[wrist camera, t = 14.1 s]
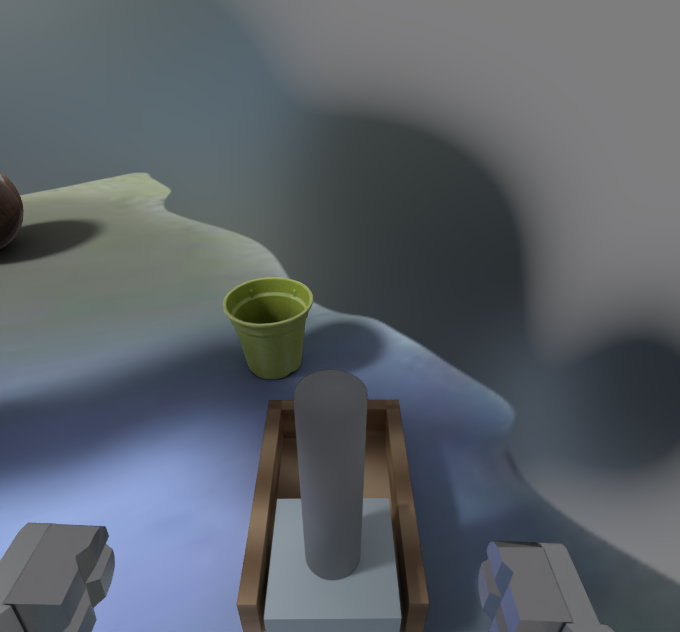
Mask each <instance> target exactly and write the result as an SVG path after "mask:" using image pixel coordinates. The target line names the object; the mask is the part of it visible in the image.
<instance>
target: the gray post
mask: <svg viewBox="0 0 680 632" xmlns="http://www.w3.org/2000/svg"><path fill="white" fill-rule="evenodd" d="M293 399H294V412H295V425H296V439H297V452H298V466H299V479H300V493H301V499H277V506H276V515H275V524H274V533H273V542H272V550H271V559H270V568H269V577H268V586H267V595H266V604H265V613H264V624H265V629H266V632H399V631H400V625H401V609H400V599H399V590H398V580H397V570H396V561H395V551H394V541H393V532H392V522H391V512H390V503H389V498H363V489H364V465H365V442H366V419H367V389H366V387H365V385H364V383H363V382H362V381H361V380H360V379H359V378H357V377H356V376H354V375H353V374H350V373H348V372H345V371H341V370H321V371H317V372H314V373H312V374H309V375H307V376H306V377H304V378H303V379H302V380H301V381H300V382H299V383H298V384H297V386H296V387H295V390H294V394H293Z"/></svg>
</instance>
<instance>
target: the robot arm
mask: <svg viewBox="0 0 680 632" xmlns="http://www.w3.org/2000/svg"><path fill="white" fill-rule="evenodd" d="M108 537H109V535H108V532H107V529H106V527H105V526H87V525H65V524H53V523H27V524H26V525H25V526H24V527H23V528H22V529H21V530H20V531H19V532H18V534H17V535H16V537H15V539H14V540H13V542H12V543H11V545H10V547H9V548H8V550H7V551H6V553H5V555H4V556H3V558H2V559H1V561H0V632H92V629H93V627H94V625H95V622H96V616H95V612H94V607H95V606H96V605H97V604H98V603H99V602H100V601H102V600H103V599H104V598H105V597H106V595H107V592H108V589H109V587H110V584H111V581H112V576H113V572H114V567H115V560H114V553H113V549H112V548H110V547H109V546H108V545H106V542H107V539H108ZM486 552H487V555H488V559H487V560H486V561H484V562H482V563H481V567H480V570H479V576H478V588H479V595H480V600H481V605H482V609H483V610H484V612H485V613H486V614H487V615H488V616H489V617H490V618H491V619H492V624H491V626H490V629H489V631H488V632H614V631H613V630H612V629H611V628H610V627H609V626H608V625H604V624H600V623H599V621H598V618H597V616H596V614H595V612H594V609H593V607H592V605H591V603H590V600H589V598H588V596H587V593H586V591H585V589H584V587H583V584H582V582H581V580H580V578H579V575H578V573H577V571H576V569H575V566H574V564H573V562H572V560H571V557H570V555H569V553H568V550H567V549H566V548H565V547H564V545H563V544H560V543H537V542H517V541H492V542H490V543H489V545H488V547H487V550H486Z"/></svg>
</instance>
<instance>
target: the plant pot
mask: <svg viewBox="0 0 680 632" xmlns="http://www.w3.org/2000/svg"><path fill="white" fill-rule="evenodd" d="M312 303H313V296H312V293H311V291H310V290H309V289H308V287H307V286H305V285H304V284H302V283H300V282H298V281H295V280H291V279H287V278H281V277H266V278H259V279H254V280H251V281H247V282H244V283H242V284H240V285H238V286H236V287H235V288H233V289H232V290H231V291H230V292H228V293H227V295H226V296H225V298H224V300H223V310H224V312H225V314H226V316H227V317H228V318H229V319H230V320H231V322H232V324H233V325H234V327H235V328H236V331H237V334H238V337H239V340H240V343H241V346H242V349H243V352H244V355H245V358H246V361H247V364H248V367H249V369H250V370H251V371H252V372H253V373H254V374H256V375H257V376H258V377H260V378H264V379H280V378H284V377H286V376H287V375H288V374H290V373H291V372H293V371H296V370H297V369H298V368H299V367H300V365H301V362H302V351H303V340H304V331H305V321H306V318H307V316H308V311H309V310H310V308H311V306H312Z"/></svg>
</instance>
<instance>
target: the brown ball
mask: <svg viewBox="0 0 680 632" xmlns="http://www.w3.org/2000/svg"><path fill="white" fill-rule="evenodd" d="M22 222H23V204H22V200H21V197H20V195H19V193H18V191H17V189H16V188H15V186H14V185H13V183H12V182H11V181H10V180H9V179H8V178H7V177H6V176H5V175H4V174H3V173H2V172H0V249H2V248H3V247H5V246H6V245H8V244H9V243H10V242H11V241H12V240H13V239H14V238H15V237H16V235H17V234H18V232H19V230H20V228H21V225H22Z"/></svg>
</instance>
